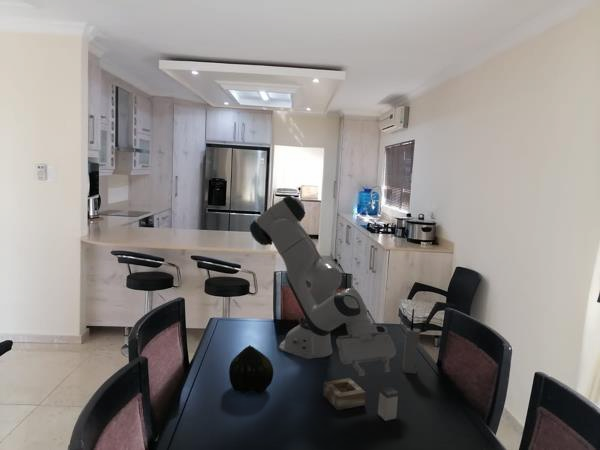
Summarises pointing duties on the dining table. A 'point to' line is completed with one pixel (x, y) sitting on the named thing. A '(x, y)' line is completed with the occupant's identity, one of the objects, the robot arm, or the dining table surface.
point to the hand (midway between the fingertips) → (374, 373)
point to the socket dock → (344, 393)
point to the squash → (250, 371)
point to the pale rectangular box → (388, 403)
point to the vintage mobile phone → (410, 348)
